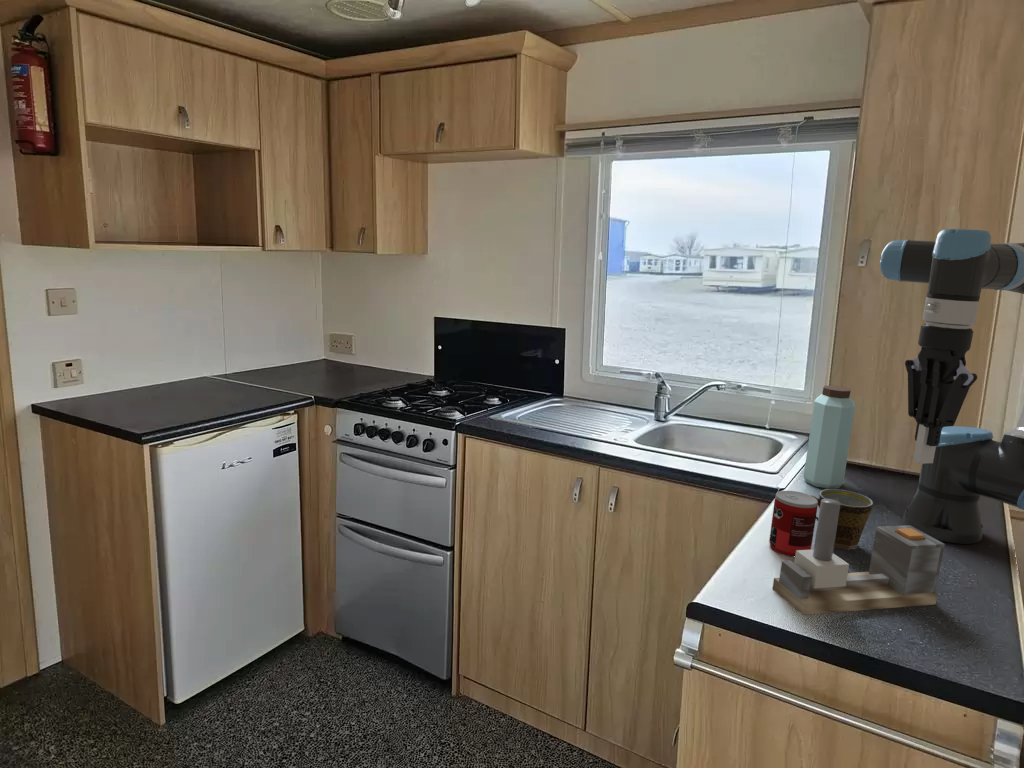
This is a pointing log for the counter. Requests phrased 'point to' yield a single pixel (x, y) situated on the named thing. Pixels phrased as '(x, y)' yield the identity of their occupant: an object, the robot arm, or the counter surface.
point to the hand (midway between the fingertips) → (922, 461)
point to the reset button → (910, 534)
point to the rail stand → (872, 578)
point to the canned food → (793, 522)
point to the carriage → (824, 551)
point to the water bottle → (829, 438)
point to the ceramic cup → (848, 516)
